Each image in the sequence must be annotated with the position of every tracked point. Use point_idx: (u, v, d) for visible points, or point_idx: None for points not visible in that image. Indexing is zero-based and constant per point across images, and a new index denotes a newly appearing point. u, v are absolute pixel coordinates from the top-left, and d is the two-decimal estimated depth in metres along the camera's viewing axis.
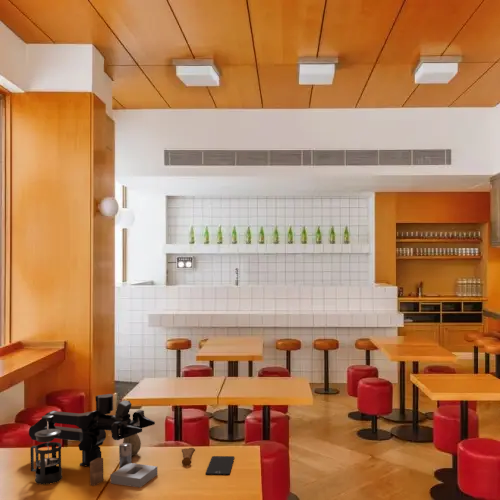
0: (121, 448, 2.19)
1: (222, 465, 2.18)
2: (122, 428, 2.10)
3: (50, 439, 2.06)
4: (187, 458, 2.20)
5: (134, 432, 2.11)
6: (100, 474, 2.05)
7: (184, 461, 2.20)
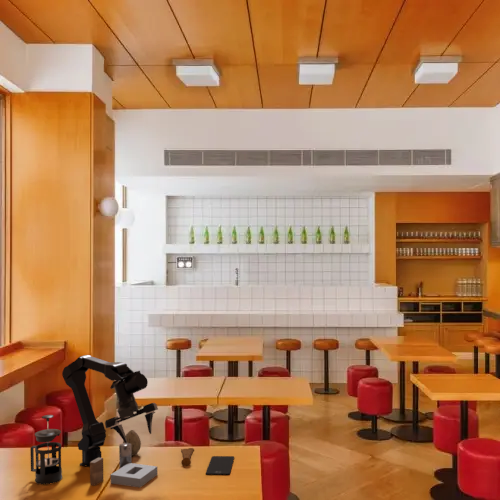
0: (121, 448, 2.19)
1: (222, 465, 2.18)
2: None
3: (50, 439, 2.06)
4: (187, 458, 2.20)
5: None
6: (100, 474, 2.05)
7: (184, 461, 2.20)
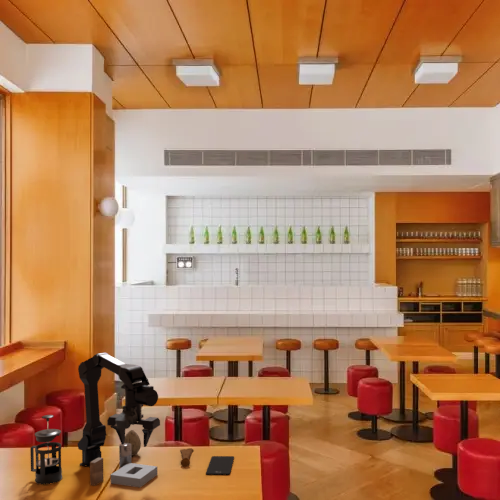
0: (121, 448, 2.19)
1: (222, 465, 2.18)
2: None
3: (50, 439, 2.06)
4: (186, 459, 2.20)
5: None
6: (100, 474, 2.05)
7: (183, 462, 2.19)
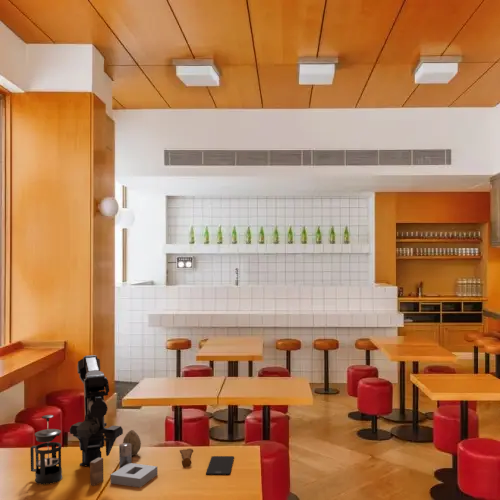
0: (121, 448, 2.19)
1: (222, 465, 2.18)
2: None
3: (50, 439, 2.06)
4: (187, 459, 2.20)
5: None
6: (100, 474, 2.05)
7: (184, 462, 2.19)
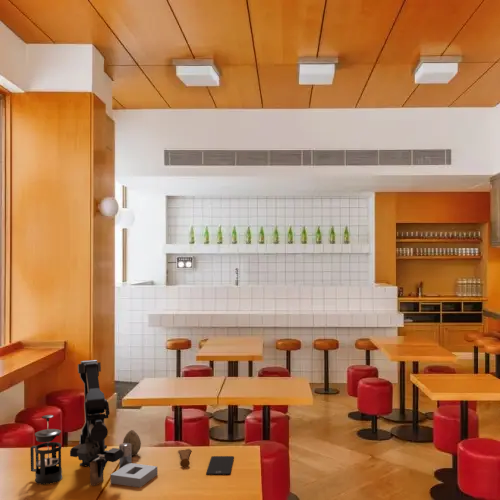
0: (121, 448, 2.19)
1: (222, 465, 2.18)
2: None
3: (50, 439, 2.06)
4: (185, 459, 2.19)
5: None
6: None
7: (182, 462, 2.19)
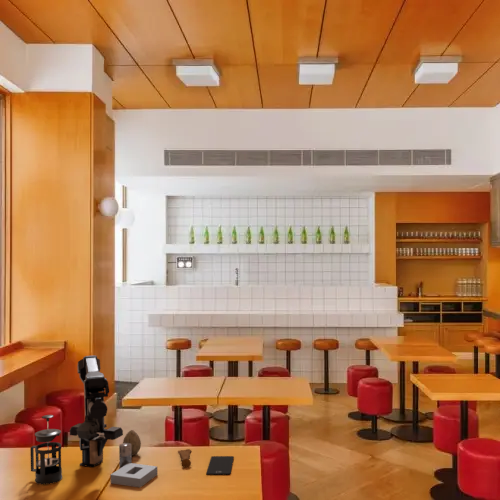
0: (121, 448, 2.19)
1: (222, 465, 2.18)
2: None
3: (50, 439, 2.06)
4: (187, 459, 2.19)
5: None
6: None
7: (184, 463, 2.18)
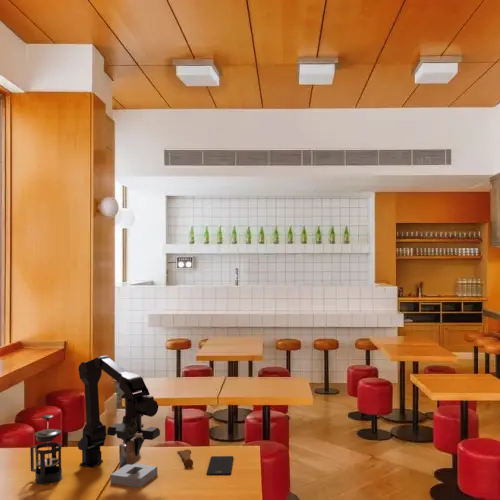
0: (121, 448, 2.19)
1: (222, 465, 2.18)
2: None
3: (50, 439, 2.06)
4: (189, 460, 2.19)
5: None
6: None
7: (186, 463, 2.18)
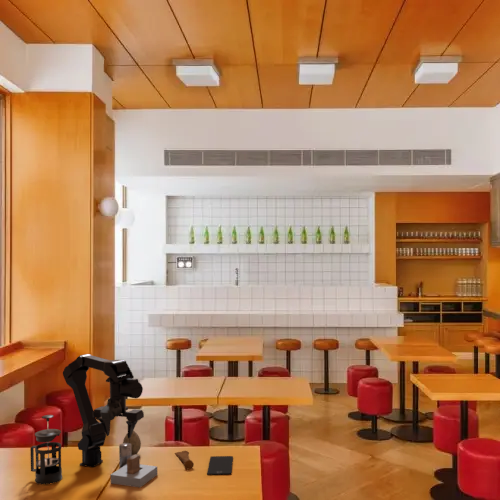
0: (121, 448, 2.19)
1: (222, 465, 2.18)
2: None
3: (50, 439, 2.06)
4: (189, 461, 2.17)
5: None
6: (136, 471, 2.08)
7: (187, 464, 2.17)
